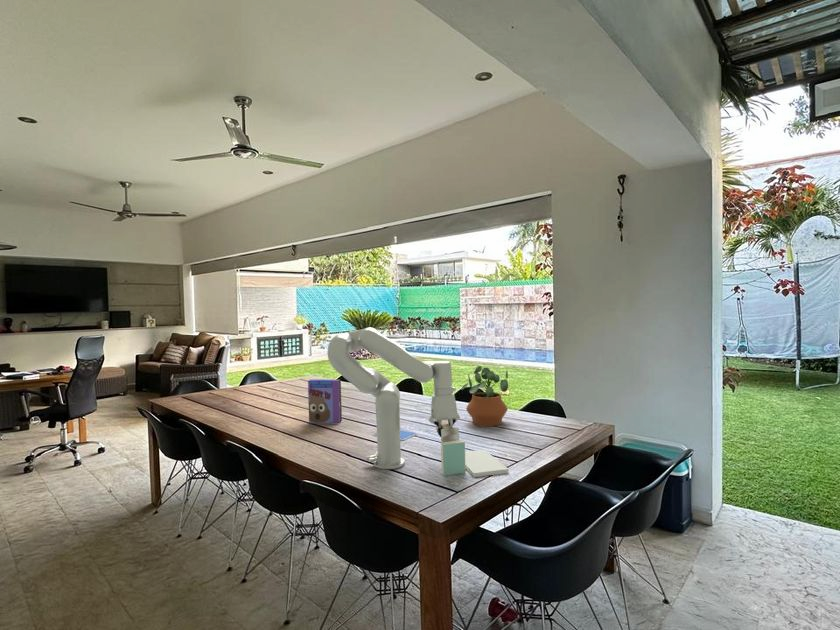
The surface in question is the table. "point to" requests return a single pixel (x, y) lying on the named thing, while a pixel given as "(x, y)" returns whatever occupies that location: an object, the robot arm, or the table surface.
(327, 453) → the table surface
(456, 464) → the tile
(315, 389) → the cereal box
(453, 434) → the beige upright post
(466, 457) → the white rectangular board
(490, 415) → the potted plant
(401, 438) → the tablet computer
